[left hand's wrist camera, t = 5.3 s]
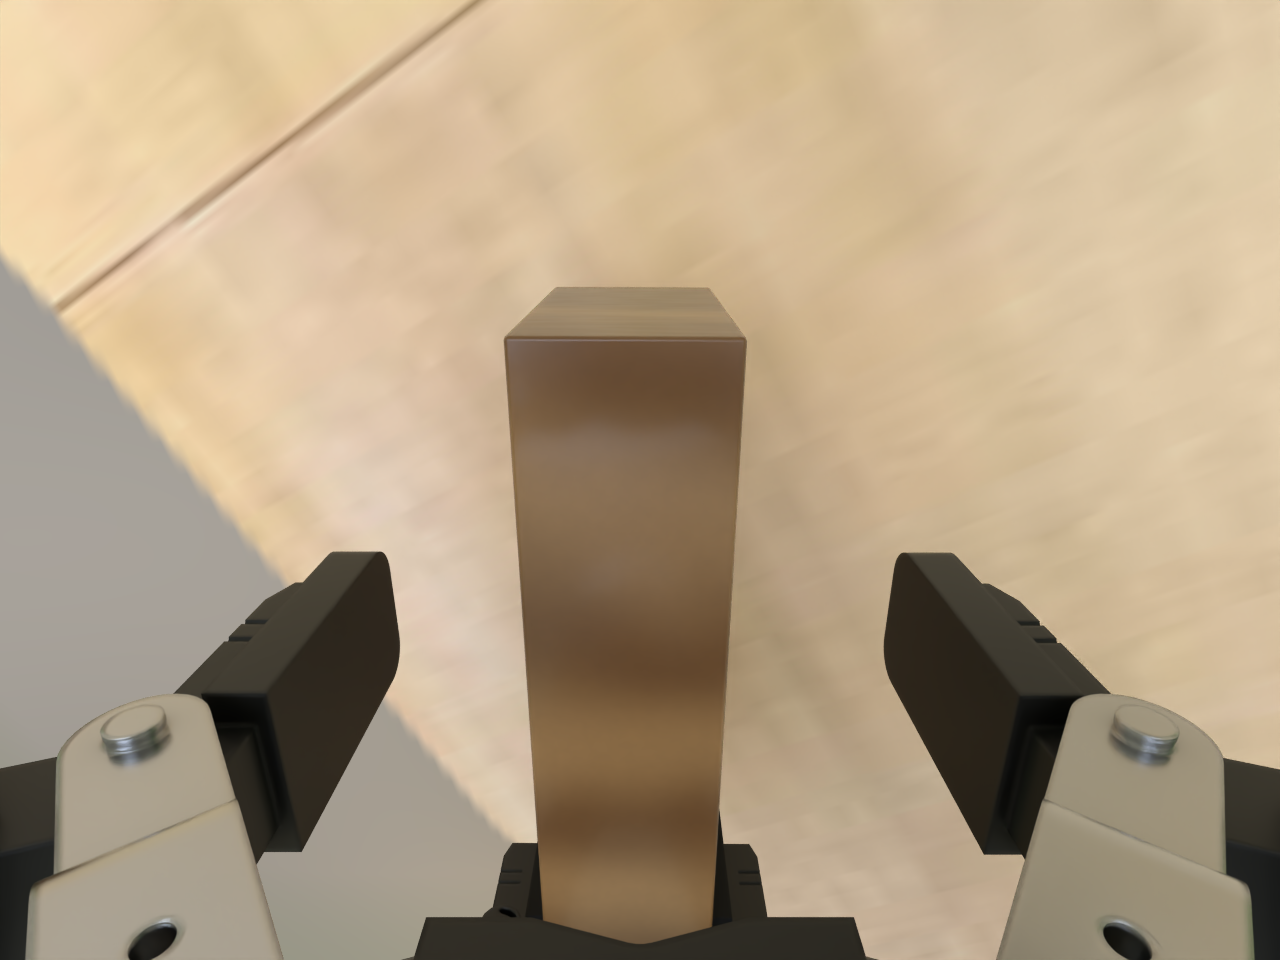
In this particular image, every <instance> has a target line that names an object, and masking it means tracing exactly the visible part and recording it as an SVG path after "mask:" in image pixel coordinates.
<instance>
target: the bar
mask: <svg viewBox="0 0 1280 960" xmlns="http://www.w3.org/2000/svg"><path fill="white" fill-rule="evenodd" d="M746 347H747V340H746V338H745V336H744V335H743V334H742V332H741V331H740V330H739V328H738V327H737V325H736V324H735V323H734V321H733V320H732V319H731V317H730V316H729V314H728V313H727V312H726V310H725V309H724V308H723V306H722V305H721V303H720V302H719V301H718V299H717V298H716V297H715V295H714V294H713V292H712V291H711V290H710V289H709V288H640V287H556V288H555V289H554V290H553V291H552V292H551V293H550V294H549V295H547V296H546V297H545V298H544V299H543V300H542V301H541V302H540V303H539V304H538V305H537V306H536V307H535V308H534V309H533V310H532V311H531V312H530V313H529V314H528V315H527V316H526V317H525V318H524V319H523V320H522V321H521V322H520V323H519V324H518V325H517V326H516V327H515V328H514V329H512V330H511V331H510V332H509V333H508V334H507V335H506V336H505V338H504V351H505V366H506V381H507V395H508V410H509V425H510V440H511V454H512V469H513V484H514V499H515V513H516V528H517V543H518V558H519V572H520V587H521V602H522V617H523V631H524V646H525V661H526V676H527V690H528V705H529V720H530V735H531V749H532V764H533V779H534V794H535V808H536V823H537V838H538V853H539V867H540V882H541V897H542V912H543V921H547V922H551V923H555V924H559V925H563V926H567V927H570V928H574V929H578V930H582V931H586V932H590V933H593V934H597V935H601V936H605V937H609V938H613V939H617V940H620V941H624V942H628V943H634V944H646V943H652V942H656V941H660V940H663V939H667V938H671V937H675V936H679V935H683V934H687V933H690V932H694V931H698V930H702V929H706V928H710V927H712V920H713V903H714V886H715V870H716V853H717V836H718V819H719V802H720V785H721V769H722V752H723V735H724V718H725V701H726V684H727V667H728V651H729V634H730V617H731V600H732V583H733V566H734V550H735V533H736V516H737V499H738V482H739V465H740V448H741V432H742V415H743V398H744V381H745V364H746Z"/></svg>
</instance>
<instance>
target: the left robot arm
mask: <svg viewBox="0 0 1280 960" xmlns="http://www.w3.org/2000/svg"><path fill="white" fill-rule="evenodd" d="M399 654H400V638H399V631H398V623H397V616H396V609H395V602H394V595H393V588H392V580H391V573H390V567H389V563H388V559H387V557H386V555H385V554H384V553H383V552H332V553H330V554H329V555H328V556H327V557H326V558H325V559H324V560H323V561H322V562H321V563H320V564H319V566H318V567H317V568H316V569H315V570H314V571H313V572H312V573H311V574H310V575H309V576H308V578H307V579H306V580H305V581H304V582H303V583H294V584H292V585H290V586H289V587H287V588H285V589H283V590H282V591H280V592H278V593H276V594H275V595H273V596H271V597H269V598H268V599H266V600H265V601H264V602H263V603H262V604H261V605H260V606H259V607H258V608H257V609H256V610H255V611H254V612H253V613H252V614H251V615H250V616H249V617H248V618H247V619H246V620H245V624H241V625H240V626H239V627H238V628H237V629H236V630H235V631H234V632H233V633H232V634H231V635H230V636H229V641H228V642H223V644H222V645H221V646H220V647H219V648H218V649H217V650H216V651H215V652H214V653H213V654H212V655H211V656H210V657H209V658H208V659H207V660H206V661H205V662H204V663H203V664H202V665H201V666H200V667H199V668H198V669H197V670H196V671H195V672H194V673H193V674H192V675H191V676H190V677H189V678H188V679H187V680H186V681H185V682H184V683H183V684H182V685H181V686H180V688H179V689H178V690H177V691H176V692H175V693H174V694H165V695H157V696H152V697H147V698H143V699H140V700H136V701H133V702H130V703H127V704H124V705H122V706H119V707H117V708H115V709H112V710H110V711H108V712H106V713H104V714H102V715H100V716H98V717H97V718H95V719H93V720H92V721H90V722H89V723H87V724H86V725H84V726H83V727H82V728H80V729H79V730H78V731H76V732H75V733H74V734H73V735H72V736H71V737H70V738H69V739H68V740H67V741H66V743H65V744H64V745H63V746H62V748H61V750H60V752H59V754H58V756H57V757H55V758H50V759H45V760H40V761H35V762H30V763H25V764H20V765H15V766H11V767H6V768H1V769H0V960H284V959H283V955H282V952H281V948H280V945H279V941H278V938H277V934H276V931H275V928H274V924H273V921H272V917H271V914H270V910H269V907H268V903H267V900H266V896H265V893H264V890H263V886H262V883H261V879H260V876H259V872H258V869H257V863H258V861H259V860H260V858H261V856H262V854H263V853H264V852H302V850H303V848H304V846H305V844H306V843H307V841H308V839H309V837H310V835H311V833H312V831H313V829H314V827H315V826H316V824H317V822H318V820H319V818H320V816H321V814H322V813H323V811H324V809H325V807H326V805H327V803H328V801H329V799H330V798H331V796H332V794H333V792H334V790H335V788H336V786H337V784H338V782H339V781H340V779H341V777H342V775H343V773H344V771H345V769H346V767H347V766H348V764H349V762H350V760H351V758H352V756H353V754H354V752H355V751H356V749H357V747H358V745H359V743H360V741H361V739H362V737H363V736H364V734H365V732H366V730H367V728H368V726H369V724H370V722H371V721H372V719H373V717H374V715H375V713H376V711H377V709H378V707H379V705H380V704H381V702H382V700H383V698H384V696H385V694H386V692H387V691H388V689H389V687H390V685H391V683H392V681H393V679H394V677H395V674H396V671H397V667H398V662H399ZM884 659H885V665H886V670H887V673H888V676H889V679H890V681H891V683H892V685H893V687H894V688H895V690H896V692H897V694H898V696H899V698H900V700H901V701H902V703H903V705H904V707H905V709H906V711H907V713H908V714H909V716H910V718H911V720H912V722H913V724H914V726H915V727H916V729H917V731H918V733H919V735H920V737H921V739H922V740H923V742H924V744H925V746H926V748H927V750H928V752H929V753H930V755H931V757H932V759H933V761H934V763H935V765H936V766H937V768H938V770H939V772H940V774H941V776H942V778H943V779H944V781H945V783H946V785H947V787H948V789H949V791H950V792H951V794H952V796H953V798H954V800H955V802H956V804H957V805H958V807H959V809H960V811H961V813H962V815H963V816H964V818H965V820H966V822H967V824H968V826H969V828H970V829H971V831H972V833H973V835H974V837H975V839H976V841H977V842H978V844H979V846H980V848H981V850H982V852H983V854H984V855H1023V857H1024V859H1025V862H1024V865H1023V869H1022V872H1021V876H1020V879H1019V883H1018V886H1017V890H1016V893H1015V896H1014V900H1013V903H1012V907H1011V910H1010V914H1009V917H1008V921H1007V924H1006V928H1005V931H1004V934H1003V938H1002V941H1001V945H1000V948H999V952H998V955H997V959H996V960H1280V770H1279V769H1274V768H1269V767H1264V766H1259V765H1255V764H1250V763H1245V762H1240V761H1235V760H1230V759H1226V758H1223V756H1222V754H1221V752H1220V750H1219V748H1218V746H1217V745H1216V744H1215V743H1214V741H1213V740H1212V739H1211V738H1210V737H1209V736H1208V735H1207V734H1206V733H1205V732H1204V731H1202V730H1201V729H1200V728H1198V727H1197V726H1196V725H1194V724H1193V723H1191V722H1190V721H1188V720H1187V719H1185V718H1183V717H1182V716H1180V715H1178V714H1176V713H1174V712H1172V711H1170V710H1168V709H1165V708H1163V707H1161V706H1158V705H1156V704H1153V703H1150V702H1147V701H1144V700H1140V699H1137V698H1133V697H1128V696H1123V695H1115V694H1111V693H1110V692H1109V691H1108V690H1107V689H1106V688H1105V687H1104V686H1103V685H1102V684H1101V683H1100V682H1099V681H1098V680H1097V679H1096V678H1095V677H1094V676H1093V675H1092V674H1091V673H1090V672H1089V671H1088V670H1087V669H1086V668H1085V667H1084V666H1083V665H1082V664H1081V663H1080V662H1079V661H1078V660H1077V659H1076V658H1075V657H1074V656H1073V655H1072V654H1071V653H1070V652H1069V651H1068V650H1067V649H1066V648H1065V647H1064V646H1063V645H1062V644H1061V643H1057V641H1056V638H1055V637H1054V636H1053V635H1052V634H1051V633H1050V632H1049V631H1048V630H1047V629H1046V628H1045V626H1040V621H1039V620H1038V619H1037V618H1036V617H1035V616H1034V615H1033V614H1032V613H1031V612H1030V611H1029V610H1028V609H1027V608H1026V607H1025V606H1024V605H1023V604H1022V603H1021V602H1020V601H1018V600H1017V599H1015V598H1013V597H1011V596H1010V595H1008V594H1006V593H1004V592H1002V591H1001V590H999V589H997V588H995V587H994V586H992V585H990V584H982V583H981V582H980V581H979V580H978V579H977V578H976V577H975V576H974V575H973V574H972V573H971V572H970V571H969V569H968V568H967V567H966V566H965V565H964V564H963V563H962V562H961V561H960V560H959V559H958V558H957V557H956V556H955V555H954V554H952V553H901V554H900V555H899V556H898V558H897V560H896V563H895V567H894V573H893V580H892V587H891V594H890V601H889V608H888V616H887V623H886V630H885V637H884ZM403 960H877V959H873V958H870V957H866V956H865V953H864V949H863V946H862V943H861V939H860V936H859V933H858V930H857V926H856V923H855V920H854V917H748V918H744V919H740V920H737V921H733V922H729V923H725V924H721V925H717V926H713V927H710V928H706V929H702V930H698V931H694V932H690V933H687V934H683V935H679V936H675V937H671V938H667V939H663V940H660V941H656V942H652V943H646V944H634V943H628V942H624V941H620V940H617V939H613V938H609V937H605V936H601V935H597V934H593V933H590V932H586V931H582V930H578V929H574V928H570V927H567V926H563V925H559V924H555V923H551V922H547V921H543V920H540V919H536V918H532V917H426V920H425V923H424V926H423V930H422V933H421V936H420V939H419V943H418V946H417V949H416V953H415V956H414V957H410V958H407V959H403Z"/></svg>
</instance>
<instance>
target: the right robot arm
mask: <svg viewBox="0 0 1280 960" xmlns="http://www.w3.org/2000/svg"><path fill="white" fill-rule="evenodd" d="M483 917H532V918H536V919H540V920H543V912H542V897H541V882H540V867H539V853H538V842H537V843H512V845H511V846H510V848H509V849H508V851H507V852H506V853H505V855H504V858H503V863H502V867H501V873H500V876H499V882H498V886H497V890H496V895H495V900H494V904H493V908H491V909H490V910H488V911H487V912H486V913H485V914H484V915H483ZM748 917H767V912H766V906H765V900H764V894H763V888H762V882H761V876H760V870H759V864H758V859H757V856H756V854H755V853H754V851H753V850H752V848H751V846H750V845H749V844H723V836H722V828H721V819H720V811H719V819H718V836H717V853H716V870H715V886H714V903H713V920H712V927H713V926H717V925H721V924H725V923H729V922H733V921H737V920H740V919H744V918H748Z"/></svg>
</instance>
